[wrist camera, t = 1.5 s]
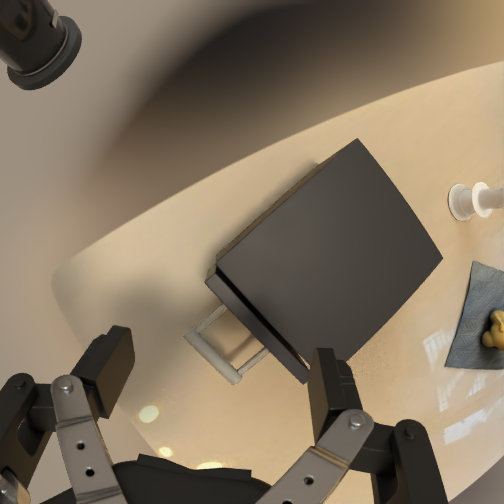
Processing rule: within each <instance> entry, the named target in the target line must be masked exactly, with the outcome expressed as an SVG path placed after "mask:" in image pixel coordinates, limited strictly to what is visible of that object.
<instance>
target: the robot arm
mask: <svg viewBox="0 0 504 504" xmlns="http://www.w3.org/2000/svg"><path fill="white" fill-rule="evenodd" d="M58 15H59V14H58V12H57V11H56V10H54V9H53V7H52V6H51V5H50V3H49V2H48V0H0V59H1V60H2V61H3V62H4V63H6V64H7V65H8V66H9V67H10V68H12V69H13V70H14V72H15V73H16V74H18V75H19V76H22V77H30V76H34V75H36V74H39V73H41V72H42V71H44V70H45V69H47V68H48V67H49V66H51V65H52V64H53V63H54V62H55V61H56V60H57V59H58V57H59V56H60V55H61V54H62V52H63V50H64V49H65V47H66V45H67V42H68V38H69V30H68V28H67V26H66V25H65V24H64V23H63V22H62V20H61V19H60V18H59V16H58ZM134 363H135V352H134V346H133V340H132V333H131V329H130V328H128V327H122V326H116V325H113V326H112V327H111V329H110V330H109V332H108V333H107V335H104V334H102V335H100V336H99V337H97V338H96V339H94V340H93V341H92V343H91V344H90V346H89V347H88V349H87V350H86V351H85V353H84V355H83V356H82V357H81V358H80V360H79V362H78V363H77V364H76V366H75V367H74V369H73V370H72V372H71V373H70V375H63V376H60V377H58V378H56V379H55V380H54V381H53V382H52V384H37V383H35V382H34V379H33V378H32V376H31V375H29V374H26V373H18V374H15V375H13V376H12V377H11V378H9V379H8V381H7V382H6V384H5V385H4V386H3V388H2V389H1V391H0V504H30V501H31V498H30V494H29V492H28V490H27V488H28V486H29V483H30V481H31V478H32V476H33V474H34V471H35V469H36V467H37V464H38V462H39V460H40V457H41V456H42V454H43V451H44V449H45V447H46V445H47V443H48V441H49V439H50V436H51V434H52V432H57V437H58V441H59V445H60V448H61V452H62V456H63V459H64V463H65V466H66V470H67V473H68V476H69V479H70V482H71V485H72V488H70V489H68V490H66V491H64V492H62V493H61V494H58V495H56V496H54V497H53V498H50V499H48V500H46V501H44V502H42V503H40V504H324V503H325V502H326V500H327V499H328V498H329V497H330V495H331V494H332V493H333V491H334V490H335V489H336V487H337V486H338V485H339V483H340V482H341V480H342V479H343V478H344V476H345V475H346V473H347V472H348V471H349V469H351V470H356V471H361V472H366V473H370V475H371V482H372V489H373V496H374V504H448V500H447V496H446V493H445V489H444V485H443V482H442V479H441V475H440V472H439V468H438V465H437V462H436V459H435V455H434V452H433V449H432V446H431V443H430V440H429V437H428V434H427V431H426V429H425V427H424V426H423V425H422V424H421V423H419V422H417V421H415V420H411V419H406V420H402V421H400V422H398V423H397V424H396V426H395V427H393V426H388V425H383V424H378V423H376V422H374V421H373V419H372V417H371V416H370V415H369V414H368V413H367V412H365V411H363V408H362V404H361V401H360V397H359V394H358V391H357V387H356V385H355V380H354V378H353V374H352V371H351V368H350V366H349V365H348V364H347V363H346V362H345V361H344V360H336V357H335V353H334V350H333V348H318V347H316V348H315V350H314V353H313V357H312V362H311V366H310V370H309V374H308V393H309V401H310V409H311V417H312V425H313V433H314V441H315V446H314V447H313V446H310V447H309V448H308V449H307V450H306V451H305V452H304V453H303V455H302V456H301V457H300V458H299V459H298V460H297V461H296V462H295V463H294V464H293V466H292V467H291V468H290V469H289V470H288V471H287V472H286V473H285V474H284V475H283V476H282V477H281V478H280V479H279V480H278V481H277V482H276V483H275V484H274V485H273V486H271V485H270V484H268V483H266V482H264V481H261V480H259V479H256V478H253V477H251V470H245V469H233V468H212V469H199V470H193V469H189V468H187V467H184V466H181V465H179V464H176V463H174V462H171V461H169V460H167V459H163V458H158V457H153V456H148V455H143V454H139V456H138V459H137V460H133V461H125V462H120V463H117V464H113V462H112V460H111V458H110V455H109V453H108V450H107V448H106V446H105V443H104V440H103V438H102V435H101V432H100V430H99V427H98V424H97V421H98V419H99V417H102V418H106V419H109V417H110V415H111V413H112V410H113V408H114V406H115V404H116V402H117V400H118V398H119V396H120V394H121V392H122V389H123V387H124V385H125V383H126V381H127V379H128V377H129V375H130V373H131V371H132V369H133V367H134ZM22 421H23V422H22ZM20 424H21V425H20ZM19 426H20V427H19ZM18 427H19V429H18Z"/></svg>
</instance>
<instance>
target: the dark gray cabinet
mask: <svg viewBox="0 0 504 504" xmlns="http://www.w3.org/2000/svg"><path fill="white" fill-rule="evenodd" d="M442 259H443V257H442V255H441V253H440V252H439V250H438V249H437V247H436V245H435V244H434V242H433V241H432V239H431V237H430V236H429V234H428V233H427V231H426V230H425V228H424V227H423V225H422V224H421V222H420V221H419V219H418V218H417V216H416V215H415V213H414V212H413V210H412V209H411V207H410V206H409V204H408V203H407V202H406V200H405V199H404V197H403V196H402V195H401V193H400V192H399V190H398V189H397V188H396V186H395V185H394V184H393V182H392V181H391V180H390V178H389V177H388V176H387V174H386V173H385V172H384V170H383V169H382V168H381V166H380V165H379V164H378V163H377V161H376V160H375V159H374V158H373V156H372V155H371V154H370V153H369V151H368V150H367V149H366V148H365V146H364V145H363V144H362V143H361V142H360V140H359V139H358V138H357V139H355V140H354V141H352V142H351V143H349V144H348V145H346V146H345V147H344V148H342V149H341V150H339V151H338V152H336V153H335V154H333V155H332V156H331V157H329V158H328V159H326V160H325V161H323V162H322V163H321V164H319V165H318V166H317V167H316V168H315V169H314V170H312V171H311V172H310V173H309V174H308V175H307V176H305V177H304V178H303V179H302V180H301V181H300V182H299V183H297V184H296V185H295V186H294V187H293V188H292V189H291V190H289V191H288V192H287V193H286V194H285V195H284V196H283V197H281V198H280V199H279V200H278V201H277V202H276V203H275V204H273V205H272V206H271V207H270V208H269V209H268V210H267V211H265V212H264V213H263V214H262V215H261V216H260V217H259V218H258V219H256V220H255V221H254V222H253V223H252V224H251V225H250V226H248V227H247V228H246V229H245V230H244V231H243V232H242V233H241V234H239V235H238V236H237V237H236V238H235V239H234V240H233V241H232V242H231V243H229V244H228V245H227V246H226V247H225V248H224V249H223V250H222V251H220V252H219V253H218V254H217V256H216V261H215V264H216V265H217V266H218V268H219V269H220V270H221V271H222V272H223V273H224V274H225V275H226V276H227V277H228V279H229V280H230V281H231V282H232V283H233V284H234V285H235V286H236V287H237V288H238V290H239V291H240V292H241V293H242V294H243V295H244V296H245V297H246V298H247V299H248V300H249V301H250V303H251V304H252V305H253V306H254V307H255V308H256V309H257V310H258V311H259V312H260V313H261V314H262V315H263V317H264V318H265V319H266V320H267V321H268V322H269V323H270V324H271V325H272V326H273V327H274V328H275V329H276V330H277V331H278V332H279V334H280V335H281V336H282V337H283V338H284V339H285V340H286V341H287V342H288V343H289V344H290V345H291V346H292V347H293V348H294V349H295V350H296V351H297V352H298V353H299V355H300V356H301V357H302V358H303V359H304V360H305V361H306V362H307V363H308V364H309V365H310V366H311V362H312V357H313V353H314V350H315V348H316V347H318V348H333V350H334V353H335V357H336V360H344V361H345V362H346V361H347V360H349V359H350V358H351V357H352V356H353V355H354V354H355V353H356V352H357V351H358V350H359V349H360V348H361V347H362V346H363V345H364V344H365V343H366V342H367V341H368V340H369V339H370V338H371V337H372V336H373V335H374V334H375V333H376V332H377V331H378V330H379V329H380V328H381V327H382V326H383V325H384V324H385V323H386V322H387V321H388V320H389V319H390V318H391V317H392V316H393V315H394V314H395V313H396V312H397V311H398V310H399V309H400V308H401V306H402V305H403V304H404V303H405V302H406V301H407V300H408V299H409V298H410V297H411V296H412V294H413V293H414V292H415V291H416V290H417V289H418V288H419V287H420V285H421V284H422V283H423V282H424V281H425V280H426V278H427V277H428V276H429V275H430V274H431V273H432V271H433V270H434V269H435V268H436V267H437V265H438V264H439V263H440V262H441V261H442Z"/></svg>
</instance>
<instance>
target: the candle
mask: <svg viewBox="0 0 504 504" xmlns="http://www.w3.org/2000/svg"><path fill="white" fill-rule="evenodd" d="M449 207H450V210H451V212H452V214H453V216H454V217H455V218H456V219H458V220H459V221H466V220H468V219H469V218H470V217H471V215H472V214H473V213H474V211H475V212H476V213H477V214H478V215H479V216H480V217H482V218H486V217H488V216H489V215H490V214H491V212H492V209H496V208H504V187H499V188H492V189H490V188H489V187H488V186H487V185H486V184H485V183H483V182H478V183H476V184H475V185H474V187H473V190H470V189H469V188H467V187H466V186H465V185H463V184H456V185H454V186H453V187H452V188H451V190H450V193H449Z"/></svg>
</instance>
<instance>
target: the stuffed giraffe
mask: <svg viewBox="0 0 504 504" xmlns="http://www.w3.org/2000/svg"><path fill="white" fill-rule="evenodd" d="M445 367H454V368H467V369H486V370H488V369H489V370H490V369H491V370H499V369H504V272H502V271H500V270H497V269H495V268H492V267H489V266H486V265H483V264H480V263H478V262H475V261H473V265H472V272H471V281H470V290H469V294H468V296H467V299H466V302H465V307H464V312H463V316H462V319H461V322H460V325H459V328H458V332H457V334H456V338H455V340H454V341H453V345H452V349H451V352H450V354H449V357H448V359H447V363H446V366H445Z"/></svg>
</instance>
